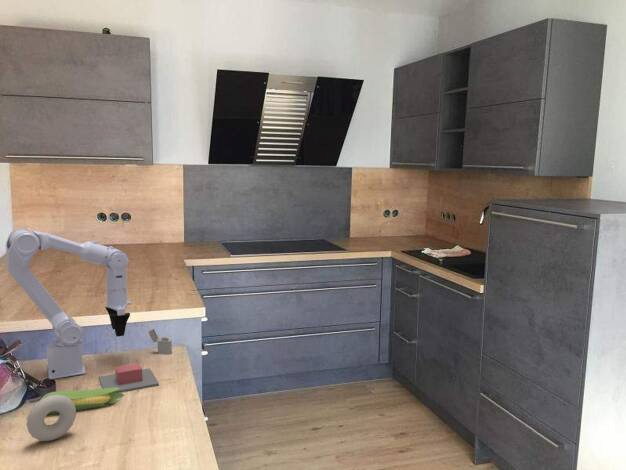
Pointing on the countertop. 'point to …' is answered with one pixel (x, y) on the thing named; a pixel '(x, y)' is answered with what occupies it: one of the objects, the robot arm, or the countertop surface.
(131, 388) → the mat
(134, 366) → the pink rectangular block
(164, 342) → the lighter
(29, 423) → the donut
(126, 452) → the countertop surface
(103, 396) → the edible corn
